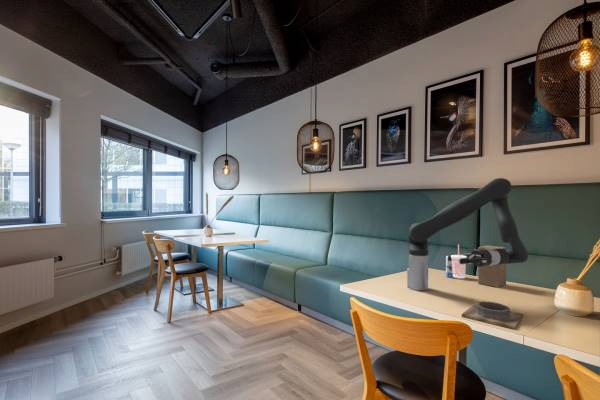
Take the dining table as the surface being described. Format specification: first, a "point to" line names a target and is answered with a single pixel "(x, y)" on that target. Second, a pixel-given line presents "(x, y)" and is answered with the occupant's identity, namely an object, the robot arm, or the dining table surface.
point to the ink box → (449, 268)
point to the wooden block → (492, 272)
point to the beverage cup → (458, 266)
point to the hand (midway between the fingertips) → (454, 259)
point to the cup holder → (493, 314)
